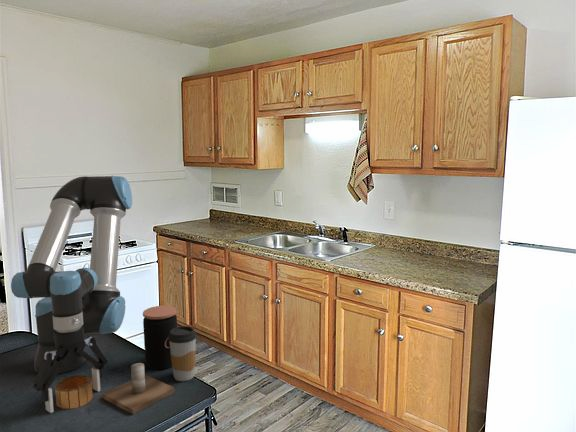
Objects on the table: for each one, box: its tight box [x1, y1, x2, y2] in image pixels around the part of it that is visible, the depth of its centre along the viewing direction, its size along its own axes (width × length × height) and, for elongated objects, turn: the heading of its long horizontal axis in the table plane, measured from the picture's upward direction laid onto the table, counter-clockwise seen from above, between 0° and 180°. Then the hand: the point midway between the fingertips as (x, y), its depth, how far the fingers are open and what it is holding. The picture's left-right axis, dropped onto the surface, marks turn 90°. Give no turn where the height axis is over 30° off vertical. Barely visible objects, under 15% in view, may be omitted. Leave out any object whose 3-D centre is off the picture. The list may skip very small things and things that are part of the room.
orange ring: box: [54, 374, 93, 410], centre depth 130 cm, size 9×9×5 cm
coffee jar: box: [142, 305, 178, 371], centre depth 151 cm, size 11×11×18 cm
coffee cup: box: [169, 325, 197, 382], centre depth 142 cm, size 8×8×15 cm
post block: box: [102, 362, 176, 416], centre depth 131 cm, size 14×14×9 cm
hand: (74, 400), depth 130 cm, fingers open, 13 cm apart
